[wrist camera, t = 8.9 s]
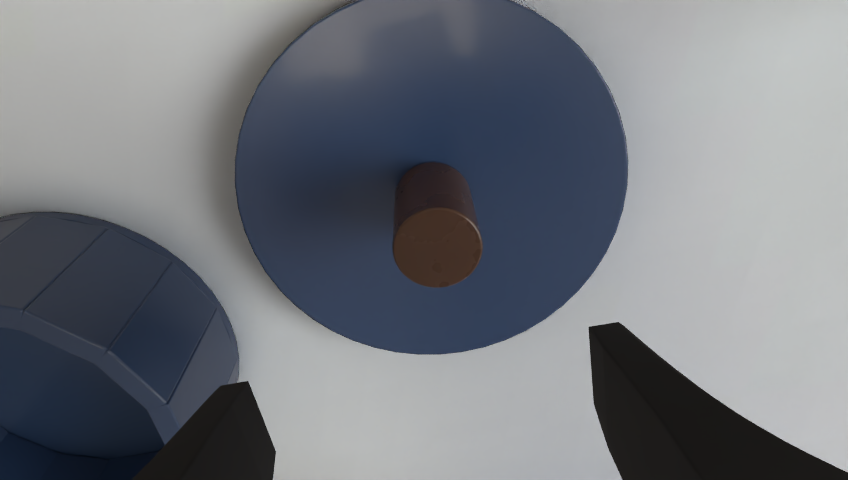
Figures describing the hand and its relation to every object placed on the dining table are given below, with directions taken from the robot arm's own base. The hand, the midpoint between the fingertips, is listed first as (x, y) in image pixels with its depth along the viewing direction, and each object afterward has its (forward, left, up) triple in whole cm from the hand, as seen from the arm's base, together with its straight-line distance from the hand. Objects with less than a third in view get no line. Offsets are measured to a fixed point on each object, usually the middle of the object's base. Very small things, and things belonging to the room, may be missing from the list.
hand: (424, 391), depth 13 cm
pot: (+13, +3, -9) cm, 16 cm away
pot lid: (-1, -1, -8) cm, 8 cm away
